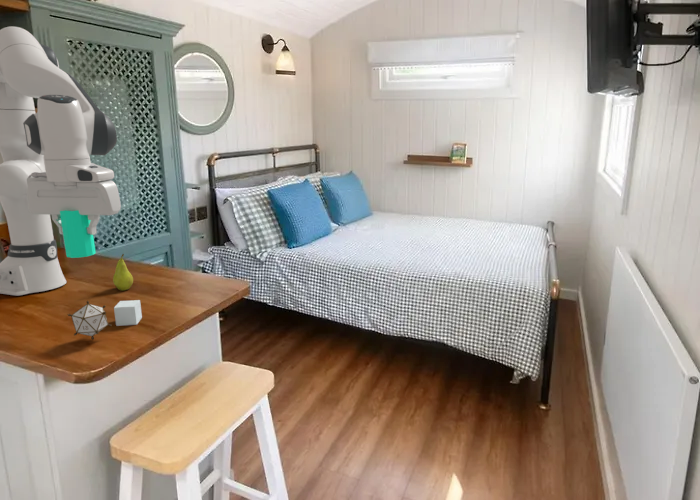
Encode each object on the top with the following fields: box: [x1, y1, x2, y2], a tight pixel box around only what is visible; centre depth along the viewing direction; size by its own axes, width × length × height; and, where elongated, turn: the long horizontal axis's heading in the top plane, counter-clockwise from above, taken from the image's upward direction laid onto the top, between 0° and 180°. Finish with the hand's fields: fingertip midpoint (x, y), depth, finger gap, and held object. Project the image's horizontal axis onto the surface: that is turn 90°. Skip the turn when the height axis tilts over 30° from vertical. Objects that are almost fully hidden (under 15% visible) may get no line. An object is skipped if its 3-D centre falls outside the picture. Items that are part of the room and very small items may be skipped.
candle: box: [60, 210, 97, 259], centre depth 110 cm, size 6×6×12 cm
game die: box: [67, 300, 113, 340], centre depth 116 cm, size 9×8×10 cm
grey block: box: [113, 299, 143, 327], centre depth 128 cm, size 5×5×5 cm
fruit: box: [112, 253, 134, 292], centre depth 152 cm, size 6×6×12 cm
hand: (78, 234), depth 111 cm, fingers closed on candle, 5 cm apart
